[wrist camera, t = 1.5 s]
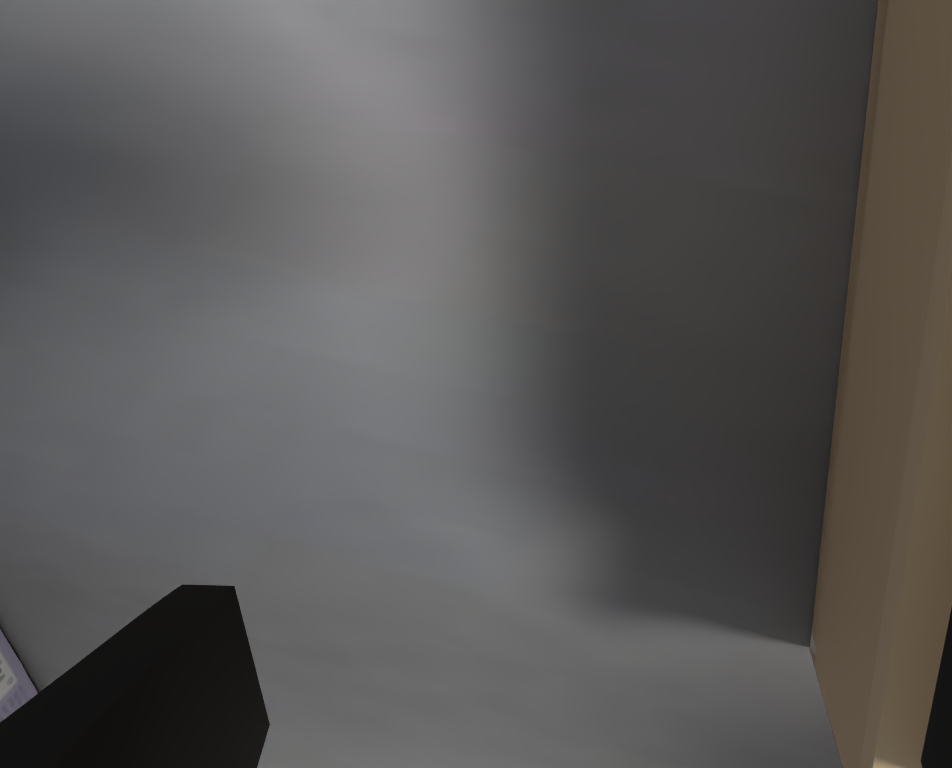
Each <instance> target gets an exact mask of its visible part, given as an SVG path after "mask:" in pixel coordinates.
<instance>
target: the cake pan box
mask: <svg viewBox="0 0 952 768" xmlns="http://www.w3.org/2000/svg"><path fill="white" fill-rule="evenodd" d="M37 694H38V692H37V690H36V688H35V687H34V685H33V683H32V682H31V680H30V678H29V677H28V675H27V673H26V671H25V669H24V668H23V666H22V664H21V662H20V661H19V659H18V657H17V656H16V654H15V653H14V651H13V649H12V648H11V646H10V644H9V643H8V641H7V639H6V638H5V636H4V634H3V632H2V631H1V629H0V722H1V721H3V720H4V719H5V718H7V717H8V716H9V715H11V714H12V713H13V712H14V711H16V710H17V709H18V708H20V707H21V706H22V705H24V704H25V703H26V702H28V701H29V700H30V699H32V698H33V697H34V696H35V695H37Z"/></svg>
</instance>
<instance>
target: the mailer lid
mask: <svg viewBox="0 0 952 768" xmlns="http://www.w3.org/2000/svg"><path fill="white" fill-rule="evenodd" d="M951 608H952V152H951V159H950V165H949V172H948V179H947V186H946V192H945V199H944V206H943V212H942V219H941V226H940V233H939V239H938V246H937V253H936V259H935V266H934V273H933V280H932V286H931V293H930V300H929V306H928V313H927V320H926V326H925V333H924V340H923V347H922V353H921V360H920V367H919V373H918V380H917V387H916V394H915V400H914V407H913V414H912V420H911V427H910V434H909V441H908V447H907V454H906V461H905V467H904V474H903V481H902V488H901V494H900V501H899V508H898V514H897V521H896V528H895V535H894V541H893V548H892V555H891V561H890V568H889V575H888V582H887V588H886V595H885V602H884V608H883V615H882V622H881V628H880V635H879V642H878V649H877V655H876V662H875V669H874V675H873V682H872V689H871V696H870V702H869V709H868V716H867V722H866V729H865V736H864V743H863V749H862V756H861V763H860V768H922V764H921V756H922V751H923V746H924V741H925V736H926V731H927V726H928V721H929V717H930V712H931V707H932V702H933V697H934V692H935V687H936V682H937V677H938V672H939V667H940V662H941V657H942V652H943V648H944V643H945V638H946V633H947V628H948V623H949V618H950V613H951Z"/></svg>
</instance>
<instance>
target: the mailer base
mask: <svg viewBox="0 0 952 768" xmlns="http://www.w3.org/2000/svg"><path fill="white" fill-rule="evenodd" d="M951 152H952V0H878V8H877V17H876V27H875V36H874V46H873V55H872V64H871V74H870V83H869V93H868V102H867V112H866V121H865V131H864V140H863V150H862V159H861V168H860V178H859V187H858V197H857V206H856V216H855V225H854V235H853V244H852V254H851V263H850V272H849V282H848V291H847V301H846V310H845V320H844V329H843V339H842V348H841V357H840V367H839V376H838V386H837V395H836V405H835V414H834V424H833V433H832V443H831V452H830V461H829V471H828V480H827V490H826V499H825V509H824V518H823V528H822V537H821V547H820V556H819V565H818V575H817V584H816V594H815V603H814V613H813V622H812V632H811V641H810V652H811V655H812V659H813V662H814V666H815V670H816V673H817V677H818V680H819V684H820V688H821V691H822V695H823V698H824V702H825V706H826V709H827V713H828V716H829V720H830V724H831V727H832V731H833V734H834V738H835V742H836V745H837V749H838V752H839V756H840V760H841V763H842V767H843V768H860V763H861V756H862V749H863V743H864V736H865V729H866V722H867V716H868V709H869V702H870V696H871V689H872V682H873V675H874V669H875V662H876V655H877V649H878V642H879V635H880V628H881V622H882V615H883V608H884V602H885V595H886V588H887V582H888V575H889V568H890V561H891V555H892V548H893V541H894V535H895V528H896V521H897V514H898V508H899V501H900V494H901V488H902V481H903V474H904V467H905V461H906V454H907V447H908V441H909V434H910V427H911V420H912V414H913V407H914V400H915V394H916V387H917V380H918V373H919V367H920V360H921V353H922V347H923V340H924V333H925V326H926V320H927V313H928V306H929V300H930V293H931V286H932V280H933V273H934V266H935V259H936V253H937V246H938V239H939V233H940V226H941V219H942V212H943V206H944V199H945V192H946V186H947V179H948V172H949V165H950V159H951Z"/></svg>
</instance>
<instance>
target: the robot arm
mask: <svg viewBox="0 0 952 768" xmlns="http://www.w3.org/2000/svg"><path fill="white" fill-rule="evenodd" d="M269 725H270V724H269V720H268V716H267V712H266V708H265V704H264V700H263V696H262V692H261V689H260V685H259V681H258V677H257V673H256V669H255V665H254V661H253V657H252V653H251V649H250V646H249V642H248V638H247V634H246V630H245V626H244V622H243V618H242V614H241V610H240V606H239V602H238V599H237V595H236V591H235V587H234V586H214V585H181V586H180V587H178V588H177V589H175V590H174V591H172V592H171V593H169V594H168V595H167V596H165V597H164V598H162V599H161V600H160V601H158V602H157V603H155V604H154V605H153V606H151V607H150V608H149V609H147V610H146V611H145V612H143V613H142V614H141V615H139V616H138V617H137V618H136V619H134V620H133V621H132V622H130V623H129V624H128V625H126V626H125V627H124V628H122V629H121V630H120V631H119V632H117V633H116V634H115V635H113V636H112V637H111V638H110V639H108V640H107V641H106V642H104V643H103V644H102V645H100V646H99V647H98V648H97V649H95V650H94V651H93V652H91V653H90V654H89V655H88V656H86V657H85V658H84V659H82V660H81V661H80V662H79V663H77V664H76V665H75V666H73V667H72V668H71V669H69V670H68V671H67V672H66V673H64V674H63V675H62V676H60V677H59V678H58V679H56V680H55V681H54V682H52V683H51V684H50V685H49V686H47V687H46V688H45V689H43V690H42V691H41V692H39V693H38V694H37V695H35V696H34V697H33V698H32V699H30V700H29V701H28V702H26V703H25V704H24V705H22V706H21V707H20V708H18V709H17V710H16V711H14V712H13V713H12V714H11V715H9V716H8V717H7V718H5V719H4V720H3V721H1V722H0V768H257V766H258V762H259V759H260V756H261V752H262V749H263V745H264V742H265V739H266V735H267V732H268V728H269ZM921 764H922V768H952V608H951V613H950V618H949V623H948V628H947V633H946V638H945V643H944V648H943V652H942V657H941V662H940V667H939V672H938V677H937V682H936V687H935V692H934V697H933V702H932V707H931V712H930V717H929V721H928V726H927V731H926V736H925V741H924V746H923V751H922V756H921Z"/></svg>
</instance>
